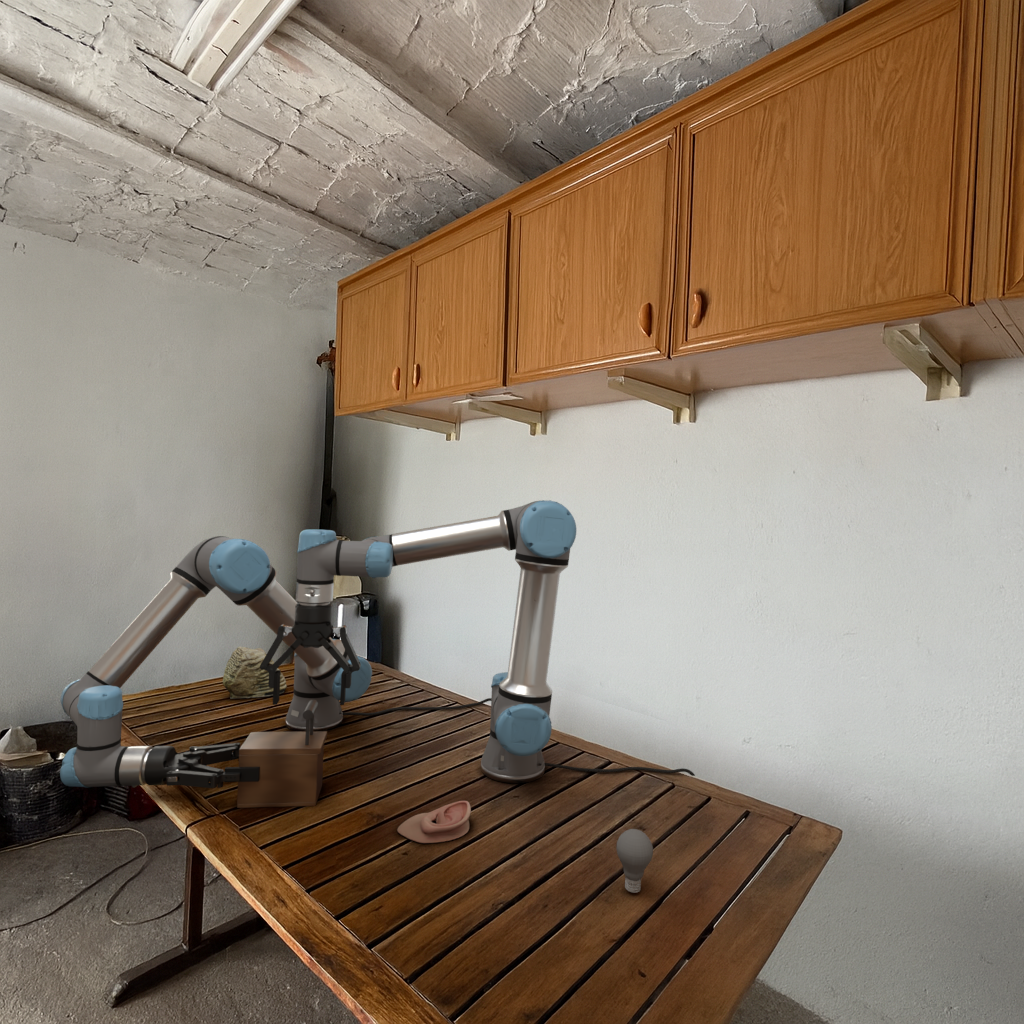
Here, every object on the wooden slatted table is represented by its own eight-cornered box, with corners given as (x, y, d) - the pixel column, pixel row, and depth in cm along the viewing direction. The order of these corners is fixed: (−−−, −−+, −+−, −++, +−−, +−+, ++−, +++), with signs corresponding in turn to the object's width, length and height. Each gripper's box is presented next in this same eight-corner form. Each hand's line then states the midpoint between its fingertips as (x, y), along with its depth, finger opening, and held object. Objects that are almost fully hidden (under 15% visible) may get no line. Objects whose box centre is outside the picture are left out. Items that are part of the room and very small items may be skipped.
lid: (326, 736, 139) (328, 697, 139) (320, 753, 130) (322, 712, 130) (251, 737, 137) (252, 697, 136) (238, 755, 127) (240, 712, 127)
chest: (322, 785, 139) (324, 736, 139) (315, 805, 130) (317, 754, 130) (249, 786, 137) (250, 737, 137) (236, 808, 128) (238, 755, 127)
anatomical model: (391, 817, 118) (413, 790, 130) (390, 838, 118) (412, 809, 130) (459, 827, 116) (476, 799, 127) (459, 849, 116) (475, 819, 127)
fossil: (218, 695, 195) (220, 647, 195) (278, 685, 208) (279, 640, 207) (228, 703, 189) (230, 653, 188) (289, 692, 201) (290, 645, 201)
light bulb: (610, 879, 108) (613, 822, 108) (644, 879, 109) (647, 822, 109) (619, 902, 102) (622, 840, 102) (655, 901, 103) (658, 840, 103)
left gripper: (170, 761, 140) (275, 759, 144) (125, 810, 118) (250, 806, 122) (171, 727, 140) (277, 726, 144) (126, 770, 118) (252, 768, 122)
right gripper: (247, 604, 128) (242, 708, 128) (373, 607, 132) (368, 708, 132) (256, 598, 135) (252, 697, 136) (375, 601, 139) (371, 697, 139)
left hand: (264, 763), depth 133 cm, fingers closed on chest, 9 cm apart
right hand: (309, 703), depth 134 cm, fingers open, 13 cm apart
